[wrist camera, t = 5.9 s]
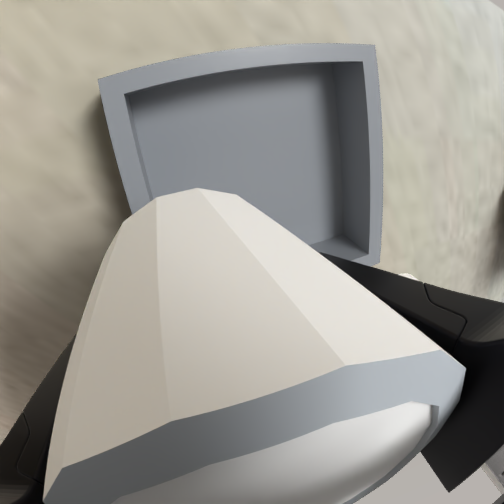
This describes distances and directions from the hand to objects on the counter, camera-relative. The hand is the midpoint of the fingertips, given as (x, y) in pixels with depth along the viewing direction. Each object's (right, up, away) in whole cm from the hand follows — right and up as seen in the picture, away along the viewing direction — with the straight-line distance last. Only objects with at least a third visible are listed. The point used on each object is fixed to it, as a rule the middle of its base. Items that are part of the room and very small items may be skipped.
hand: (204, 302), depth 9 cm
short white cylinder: (0, +1, +1) cm, 1 cm away
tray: (+1, +6, +11) cm, 13 cm away
